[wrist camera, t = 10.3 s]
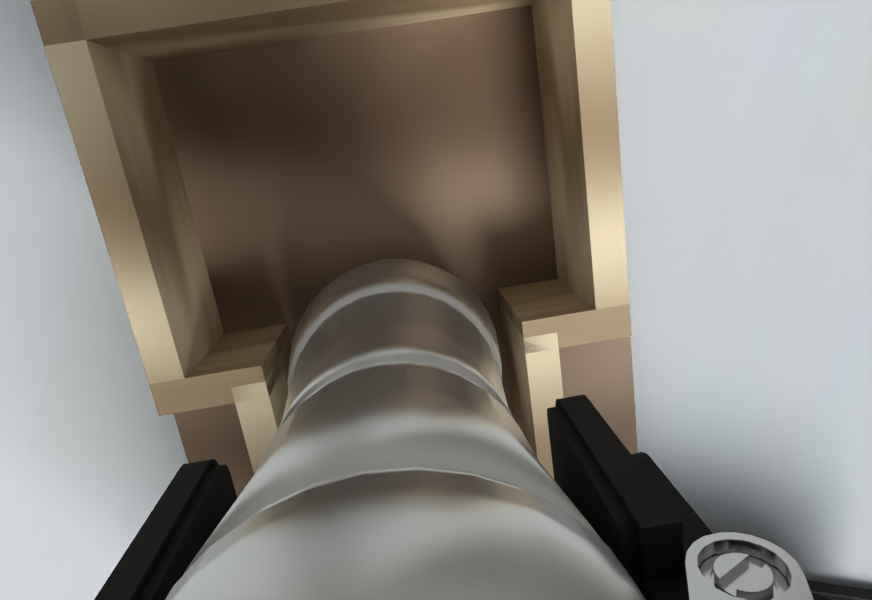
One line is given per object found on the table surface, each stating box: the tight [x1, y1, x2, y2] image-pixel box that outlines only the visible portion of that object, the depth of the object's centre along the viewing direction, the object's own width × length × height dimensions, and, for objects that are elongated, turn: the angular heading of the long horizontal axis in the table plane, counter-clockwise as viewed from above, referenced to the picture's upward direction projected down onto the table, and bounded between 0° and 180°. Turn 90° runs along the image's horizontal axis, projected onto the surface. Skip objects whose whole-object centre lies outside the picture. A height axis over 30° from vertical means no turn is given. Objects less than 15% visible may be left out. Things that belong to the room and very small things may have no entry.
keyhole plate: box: [30, 0, 638, 498], centre depth 19 cm, size 20×17×5 cm
